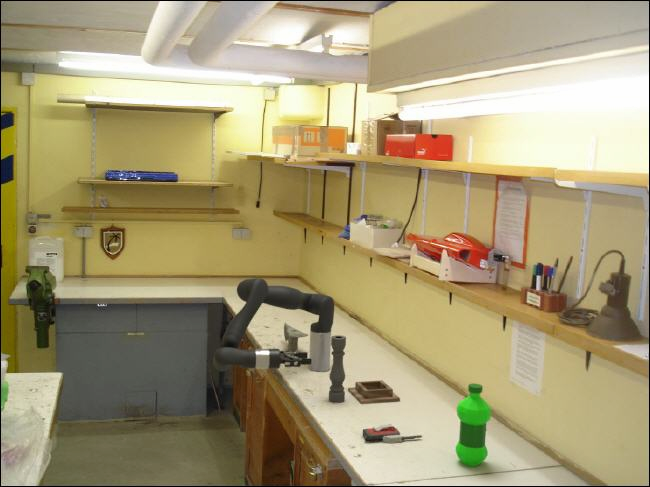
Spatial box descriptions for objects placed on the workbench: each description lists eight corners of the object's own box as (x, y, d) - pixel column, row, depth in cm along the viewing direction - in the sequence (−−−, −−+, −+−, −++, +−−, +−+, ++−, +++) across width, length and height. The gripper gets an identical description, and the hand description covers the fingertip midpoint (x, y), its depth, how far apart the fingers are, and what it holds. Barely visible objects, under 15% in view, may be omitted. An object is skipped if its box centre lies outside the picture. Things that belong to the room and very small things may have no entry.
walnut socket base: (348, 390, 295) (348, 380, 295) (385, 388, 300) (385, 378, 299) (361, 403, 280) (361, 393, 280) (399, 401, 285) (400, 390, 284)
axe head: (274, 342, 366) (274, 322, 365) (292, 341, 370) (293, 321, 368) (290, 356, 341) (291, 336, 340) (309, 355, 344) (310, 334, 343)
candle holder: (335, 396, 288) (337, 334, 284) (347, 400, 284) (350, 337, 280) (325, 400, 283) (327, 337, 280) (337, 404, 279) (339, 340, 276)
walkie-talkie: (367, 446, 240) (423, 441, 246) (368, 434, 240) (423, 429, 246) (358, 436, 249) (412, 431, 255) (358, 424, 248) (413, 419, 254)
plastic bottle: (455, 454, 236) (460, 378, 233) (489, 459, 233) (494, 383, 230) (451, 466, 226) (456, 388, 223) (486, 471, 223) (491, 392, 220)
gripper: (269, 354, 268) (313, 353, 271) (265, 344, 282) (306, 344, 285) (269, 374, 269) (312, 373, 272) (264, 363, 283) (305, 362, 286)
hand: (309, 358), depth 279 cm, fingers open, 8 cm apart
